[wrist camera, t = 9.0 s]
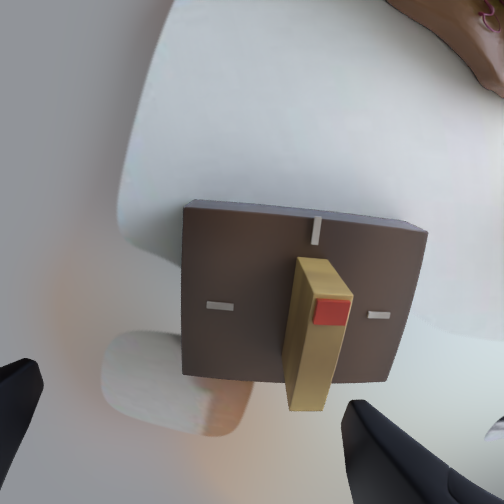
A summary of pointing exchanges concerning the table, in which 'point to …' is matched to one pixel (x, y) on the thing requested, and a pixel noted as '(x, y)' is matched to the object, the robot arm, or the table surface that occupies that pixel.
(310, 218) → the panel
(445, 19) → the plant
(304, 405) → the golden tan block
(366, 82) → the table surface
